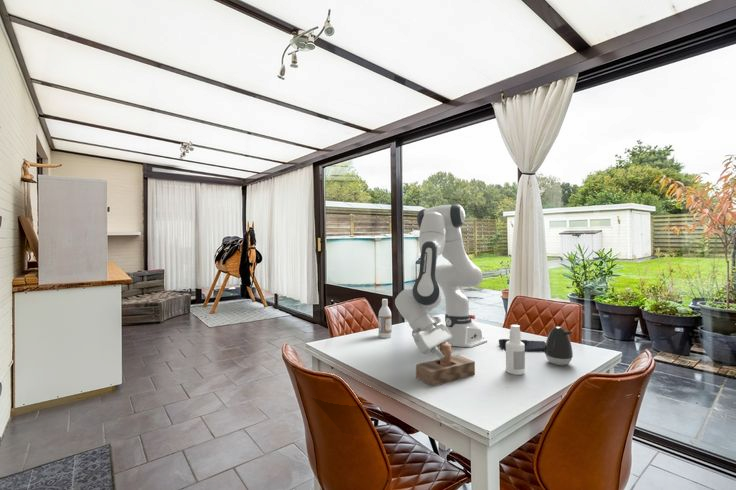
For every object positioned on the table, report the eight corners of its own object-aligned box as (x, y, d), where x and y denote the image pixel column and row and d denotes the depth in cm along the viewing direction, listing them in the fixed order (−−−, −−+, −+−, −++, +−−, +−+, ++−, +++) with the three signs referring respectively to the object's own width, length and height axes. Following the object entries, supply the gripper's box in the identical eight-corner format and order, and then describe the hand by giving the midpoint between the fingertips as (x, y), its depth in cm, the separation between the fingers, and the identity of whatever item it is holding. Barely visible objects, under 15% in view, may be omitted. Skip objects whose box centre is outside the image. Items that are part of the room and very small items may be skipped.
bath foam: (383, 339, 182) (383, 300, 182) (376, 336, 188) (375, 299, 188) (394, 337, 186) (393, 299, 186) (386, 334, 192) (386, 297, 192)
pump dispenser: (564, 369, 137) (564, 331, 137) (539, 362, 146) (539, 325, 146) (578, 364, 143) (578, 327, 143) (553, 357, 152) (553, 322, 151)
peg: (446, 373, 135) (446, 342, 135) (453, 377, 132) (453, 345, 132) (438, 375, 133) (438, 344, 133) (445, 379, 130) (445, 347, 130)
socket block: (458, 367, 141) (457, 354, 141) (474, 374, 134) (474, 361, 133) (416, 377, 131) (415, 364, 131) (431, 386, 123) (431, 372, 123)
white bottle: (523, 376, 131) (523, 328, 131) (504, 373, 135) (503, 326, 135) (526, 370, 137) (525, 324, 137) (507, 367, 141) (507, 322, 140)
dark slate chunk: (554, 354, 157) (554, 343, 157) (503, 352, 161) (503, 342, 161) (543, 344, 172) (543, 334, 172) (496, 342, 176) (496, 333, 176)
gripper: (415, 326, 128) (439, 358, 122) (441, 316, 144) (463, 344, 138) (404, 336, 131) (428, 368, 125) (431, 325, 147) (453, 353, 141)
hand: (447, 355), depth 132 cm, fingers open, 5 cm apart
